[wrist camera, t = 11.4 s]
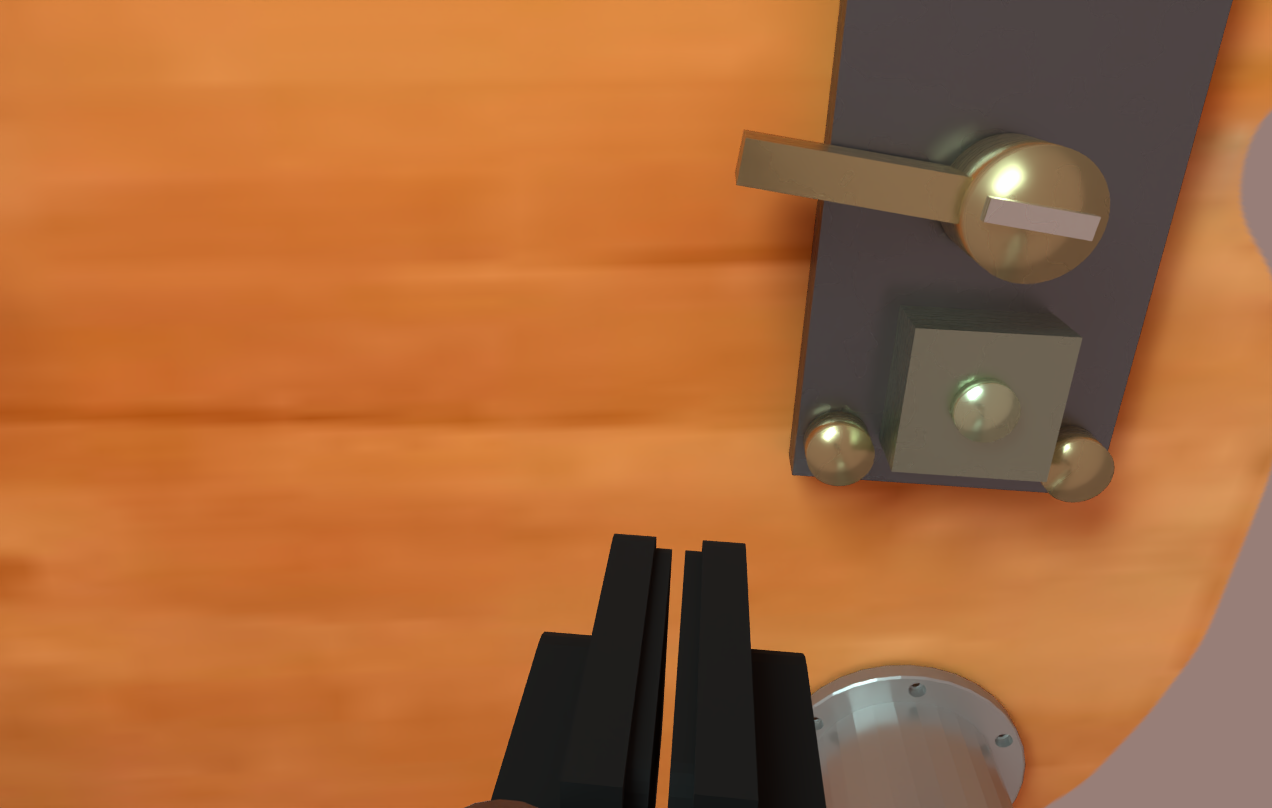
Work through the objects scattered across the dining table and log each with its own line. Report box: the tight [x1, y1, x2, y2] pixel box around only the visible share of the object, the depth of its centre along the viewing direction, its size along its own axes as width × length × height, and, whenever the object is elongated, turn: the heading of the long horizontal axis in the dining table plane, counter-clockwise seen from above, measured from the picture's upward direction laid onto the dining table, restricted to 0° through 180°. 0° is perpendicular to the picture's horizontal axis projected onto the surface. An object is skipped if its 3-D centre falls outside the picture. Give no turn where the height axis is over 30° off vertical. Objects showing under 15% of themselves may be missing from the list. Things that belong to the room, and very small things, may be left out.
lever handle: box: [735, 130, 1110, 284], centre depth 30 cm, size 12×5×4 cm, turn 81°
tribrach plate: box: [789, 0, 1233, 502], centre depth 32 cm, size 22×13×6 cm, turn 178°
